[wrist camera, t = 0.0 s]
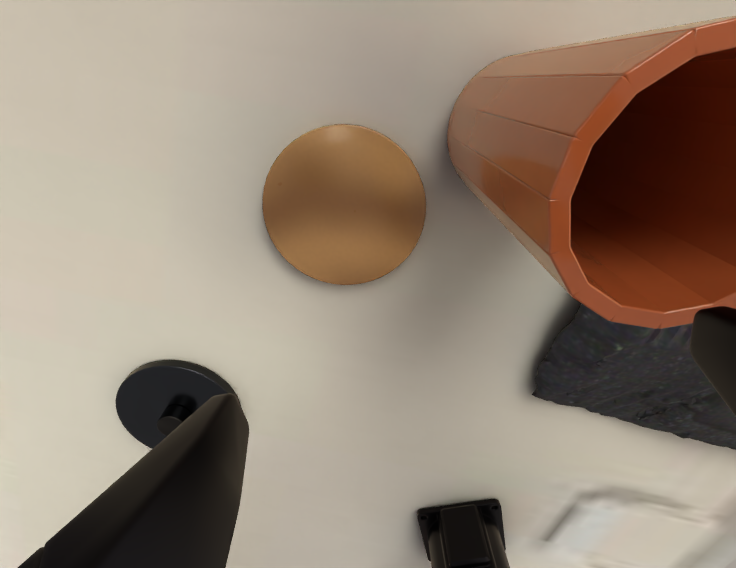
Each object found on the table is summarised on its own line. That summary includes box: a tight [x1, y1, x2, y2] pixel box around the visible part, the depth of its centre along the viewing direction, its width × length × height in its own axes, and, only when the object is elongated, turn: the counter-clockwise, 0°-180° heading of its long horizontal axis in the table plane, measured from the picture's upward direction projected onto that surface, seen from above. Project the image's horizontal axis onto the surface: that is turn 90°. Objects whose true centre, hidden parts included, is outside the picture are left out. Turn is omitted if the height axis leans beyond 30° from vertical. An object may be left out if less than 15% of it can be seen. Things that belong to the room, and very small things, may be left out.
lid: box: [116, 360, 240, 449], centre depth 27 cm, size 8×8×2 cm
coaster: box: [263, 124, 426, 285], centre depth 21 cm, size 8×8×1 cm
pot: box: [447, 16, 736, 329], centre depth 14 cm, size 7×7×12 cm
